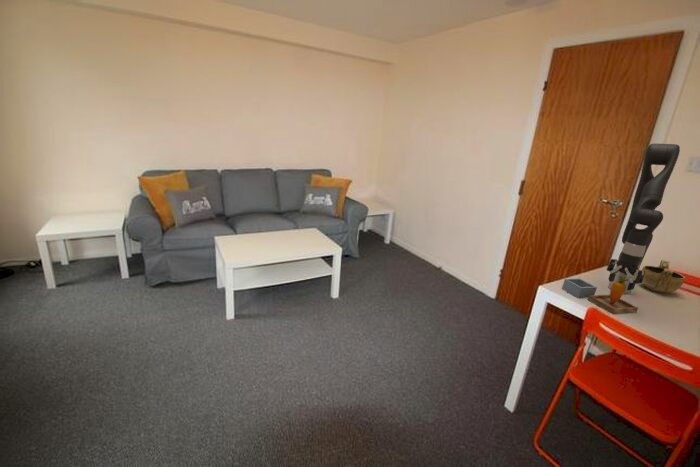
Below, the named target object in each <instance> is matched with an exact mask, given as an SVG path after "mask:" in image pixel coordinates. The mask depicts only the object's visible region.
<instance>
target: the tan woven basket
mask: <svg viewBox="0 0 700 467" xmlns="http://www.w3.org/2000/svg"><path fill="white" fill-rule="evenodd" d="M669 267H670V261H668V260H665V259H661V260H660V263H659V265H658V266H654V265H643V267H642V268H641V271H645V275H644V278H643V281H642V283H641V284H643V285H644V286H645V287H646V288H648V289H650V290H651V291H654V292H657V293H661V294H669V293H674V292H676V291H678V290H679V289H681V287H682V286H683V284H684V281H685V279H686V278H685V276H684V275H682V274H681V273H679V272H676V271H674V270H673V269H670V268H669Z"/></svg>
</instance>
